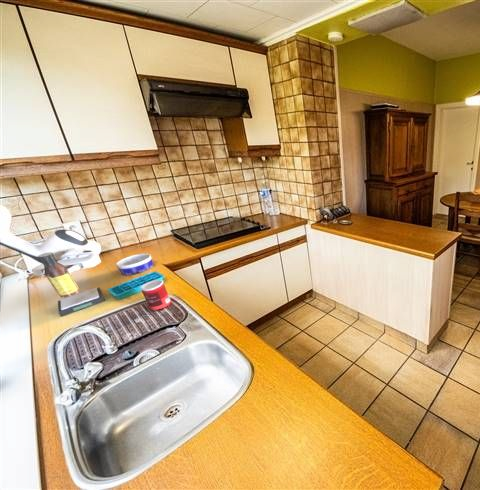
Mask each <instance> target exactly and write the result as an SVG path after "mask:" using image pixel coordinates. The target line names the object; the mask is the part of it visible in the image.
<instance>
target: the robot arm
mask: <svg viewBox="0 0 480 490" xmlns="http://www.w3.org/2000/svg"><path fill="white" fill-rule="evenodd" d="M12 217H13V215H12V213H11V212H10V210H9V209H8V208H7V207H6V206H4V205H3V204H0V246H3V247H5V248H7V249H9V250H12V251H15V252H17V253H19V254H22V255H24V256H25V257H28V258H31V259H33V260H34V261H36V262H37V263H39V265H37V266H35V267H33V268H32V269H31V272H32V274H33V275H34V276H35V277H36V278H37V277H42V278H43V279H44V278H47V277H46V275H45V269H44V265H43V263H42V261H41V260H40V259H39V258H38V256H39V255H41V254H44V253H49V252H52V253H53V255H54V257H55V259H56V260H57V262H58V263H60V264H62V265H64V266H65V267H66V269H65V272H66V273H70V274H72V273H73V272H76V271H79V270H85V269H90V268H91V269H92V268H95V267H96V266H98V265H99V264H100V263H102V260H101V258H100V254H101V253H102V246H101V244H100V243H99V242H98V241H96V240H94V239H93V240H92V239H88V238H86V237H85V236H84V235H82V234H81V233H79V232H77V231H76V230H72V229H56V230H55V231H54V232H53V233H52V234H50V236H49V237H47V239H46V240H44V241H43V242H42V243H41V244H35V243H32V242H30V241H27V240H26V239H23V238H21V237H19V236H16V235H15V234H14V233H13V232H12V230H11V226H12V225H11V224H12V221H13V220H12V219H13V218H12Z"/></svg>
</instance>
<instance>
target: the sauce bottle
mask: <svg viewBox="0 0 480 490" xmlns="http://www.w3.org/2000/svg"><path fill="white" fill-rule="evenodd" d="M38 258H39V259H40V260H41V261H42V263H43V265H44V269H45V275H46V277H45V278H47V280H48V281H49V283H50V284H51V286H52V288H53V289H54V290H55V292H56V293H57V294H58V296H59V297H60V298H61V299H62V298H66V297H70V296H73V295H76V294H77V293H80V292H81V290H80V288H79V285H78V284H77V282H76V280H75V279H74V278H73V276H72V274H71V273H66V272H65V269H66V267H65V266H64V265H62V264H60V263H58V262H57V260H56V259H55V257H54V255H53V253H52V252H49V253H44V254H41V255H39V256H38ZM42 263H41V264H42Z"/></svg>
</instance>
